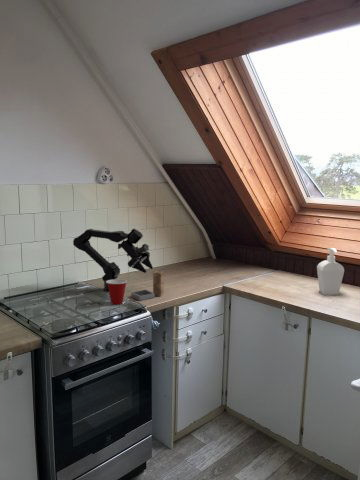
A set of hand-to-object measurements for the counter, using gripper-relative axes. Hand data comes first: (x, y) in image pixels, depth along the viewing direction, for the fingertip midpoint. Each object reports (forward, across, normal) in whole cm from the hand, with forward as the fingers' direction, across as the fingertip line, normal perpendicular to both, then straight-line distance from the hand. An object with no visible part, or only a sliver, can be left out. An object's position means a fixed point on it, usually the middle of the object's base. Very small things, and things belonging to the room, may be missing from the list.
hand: (149, 270), depth 230 cm
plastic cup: (+3, -20, +17) cm, 26 cm away
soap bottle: (+77, +35, -57) cm, 102 cm away
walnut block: (+13, 0, +6) cm, 15 cm away
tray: (+9, -7, +10) cm, 15 cm away
